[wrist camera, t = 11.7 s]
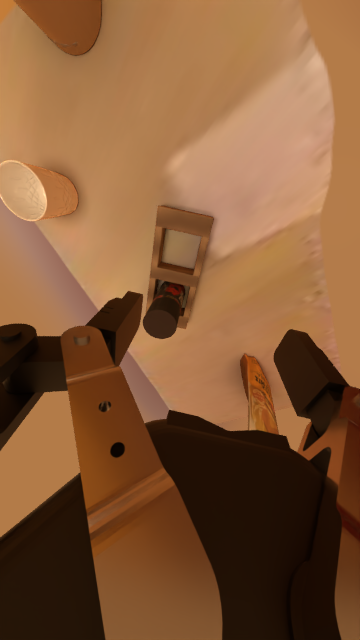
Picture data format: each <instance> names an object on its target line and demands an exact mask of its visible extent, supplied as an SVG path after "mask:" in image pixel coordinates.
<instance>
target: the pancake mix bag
mask: <svg viewBox="0 0 360 640" xmlns="http://www.w3.org/2000/svg"><path fill="white" fill-rule="evenodd" d="M240 366H241V372H242V378H243V384H244V389H245V393H246V396H247V399H248V402H249V404H248V430H261V431H265V432H269V433H274V434H278V435H279V433H278V427H277V422H276V416H275V411H274V406H273V401H272V396H271V390H270V386H269V384H268V382H267V380H266V378H265V376H264V374H263V372H262V370H261V368H260V366H259V364H258V362H257V361H256V359H255V358H254V357H249V356H247V355H246V354H245V353H244V355H243V357H242V359H241V360H240Z"/></svg>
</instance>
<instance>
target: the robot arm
mask: <svg viewBox="0 0 360 640" xmlns="http://www.w3.org/2000/svg"><path fill="white" fill-rule="evenodd" d="M14 1H15V2H16V3H17V5H18V6H19V7H20V8H21V9H22V10H23V11H24V12H25V13H26V14H27V15H28V16H29V17H30V18H31V19H32V20H33V21H34V22H35V23H36V24H37V26H38V27H39V28H40V29H41V30H42V31H43V32H44V33H45V34H46V35H47V37H48V38H49V39H50V40H52V41H53V42H54V43H55V44H56V45H57V46H58V47H59V48H60V49H61V50H63V51H64V52H66V53H69V54H71V55H80V54H83V53H85V52H86V51H88V50H89V49H90V48H91V47H92V45H93V44H94V42H95V40H96V38H97V36H98V32H99V28H100V23H101V0H14ZM142 302H143V294H140V293H135V292H131V291H128V292H127V293H126V294H125V296H124V297H123V298H122V299H121V298H115V299H112V300H110V301H108V302H107V303H106V304H105V305H104V307H102V309H101V310H100V311H99V312H98V313H97V314H96V315H95V316H94V317H93V318H92V319H91V320H90V321H89V322H88V323H87V324H86V325H85V326H77V327H73V328H70V329H68V330H67V331H65V332H64V333H63V334H62V336H37V333H36V330H35V328H34V327H32V326H30V325H27V324H9V325H4V326H1V327H0V450H1V449H2V448H3V446H4V445H5V444H6V443H7V441H8V440H9V438H10V437H11V436H12V434H13V433H14V432H15V431H16V429H17V428H18V427H19V425H20V424H21V423H22V421H23V420H24V419H25V417H26V416H27V415H28V413H29V412H30V411H31V409H32V408H33V407H34V405H35V404H36V403H37V401H38V400H39V399H40V397H41V396H42V395H43V393H44V392H52V391H68V394H69V401H70V406H71V414H72V420H73V427H74V433H75V440H76V447H77V453H78V459H79V466H80V473H79V474H78V475H76V476H75V477H74V478H73V479H72V480H70V481H69V482H68V483H67V484H65V485H64V486H63V487H62V488H61V489H59V490H58V491H57V492H56V493H54V494H53V495H52V496H51V497H49V498H48V499H47V500H46V501H45V502H43V503H42V504H41V505H40V506H38V507H37V508H36V509H35V510H33V511H32V512H31V513H30V514H29V515H27V516H26V517H25V518H24V519H22V520H21V521H20V522H19V523H18V524H16V525H15V526H14V527H13V528H11V529H10V530H9V531H8V532H7V533H5V534H4V535H3V536H2V537H0V640H360V389H359V388H356V387H352V386H349V384H348V383H347V382H346V381H345V379H344V378H343V377H342V375H341V374H340V373H339V372H338V370H337V369H336V368H335V367H334V366H333V364H332V363H331V361H330V360H328V357H327V356H326V355H325V354H324V352H323V351H322V350H321V349H320V348H318V347H317V346H316V344H315V343H314V342H313V340H312V339H311V338H310V337H309V335H308V334H307V333H305V332H301V331H297V330H293V329H290V330H289V331H287V333H286V334H285V336H284V337H283V339H282V341H281V342H280V344H279V346H278V347H277V349H276V351H275V353H274V362H275V365H276V367H277V369H278V372H279V374H280V377H281V379H282V381H283V384H284V386H285V388H286V391H287V393H288V395H289V398H290V400H291V402H292V405H293V407H294V409H295V412H296V414H297V416H300V417H305V418H309V419H311V422H310V423H309V424H308V425H307V427H306V429H305V432H304V435H303V438H302V440H301V443H300V446H299V448H298V452H296V451H294V450H292V449H291V448H290V446H289V443H288V440H287V437H286V436H283V435H278V434H274V433H269V432H265V431H261V430H246V431H227V430H225V429H223V428H221V427H219V426H217V425H215V424H213V423H211V422H209V421H207V420H204V419H202V418H200V417H198V416H194V415H190V414H185V413H181V412H177V411H172V410H169V412H168V415H167V419H161V420H154V421H151V422H147V423H144V421H143V419H142V416H141V414H140V411H139V409H138V407H137V404H136V402H135V399H134V397H133V395H132V392H131V390H130V388H129V385H128V383H127V381H126V378H125V376H124V373H123V371H122V369H121V367H120V366H119V365H120V362H121V361H122V359H123V357H124V355H125V353H126V351H127V349H128V347H129V345H130V344H131V342H132V340H133V338H134V336H135V334H136V332H137V330H138V328H139V325H140V320H141V311H142Z"/></svg>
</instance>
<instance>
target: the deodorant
mask: <svg viewBox="0 0 360 640" xmlns="http://www.w3.org/2000/svg"><path fill="white" fill-rule="evenodd" d="M184 295H185V289H184V286H183V285H181V284H177V283H172V282H168V281H165V282H164V283H163V284H162V285H161V287H160V289H159V291H158V293H157V294H156V296H155V298H154V300H153V302H152V304H151V306H150V307H149V309H148V311H147V313H146V315H145V317H144V319H143V326H144V329H145V330H146V332H147V333H148V334H149V335H151V336H153V337H155V338H159V339H165V338H168V337H171V336H172V335H173V334H174V333H175V331H176V328H177V324H178V320H179V316H180V312H181V307H182V303H183V299H184Z"/></svg>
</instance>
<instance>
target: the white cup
mask: <svg viewBox="0 0 360 640" xmlns="http://www.w3.org/2000/svg"><path fill="white" fill-rule="evenodd" d="M0 197H1V199H2V201H3V202H4V204H5V205H6V206H7V207H8V209H9V210H10V211H11V212H13V213H14V214H15V215H16V216H18V217H19V218H21V219H24V220H27V221H37V220H43V219H48V218H54V217H58V216H62V215H65V214H71V213H72V212H73V211H75V210H76V207H77V205H78V194H77V191H76V189H75V187H74V185H73V184H72V183H71V181H70V180H69V179H68V178H67V177H65V176H63V175H61V174H59V173H55V172H53V171H50V170H47V169H44V168H40V167H37V166H33V165H30V164H26V163H23V162H19V161H16V160H6V161H4V162H2V163H1V164H0Z"/></svg>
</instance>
